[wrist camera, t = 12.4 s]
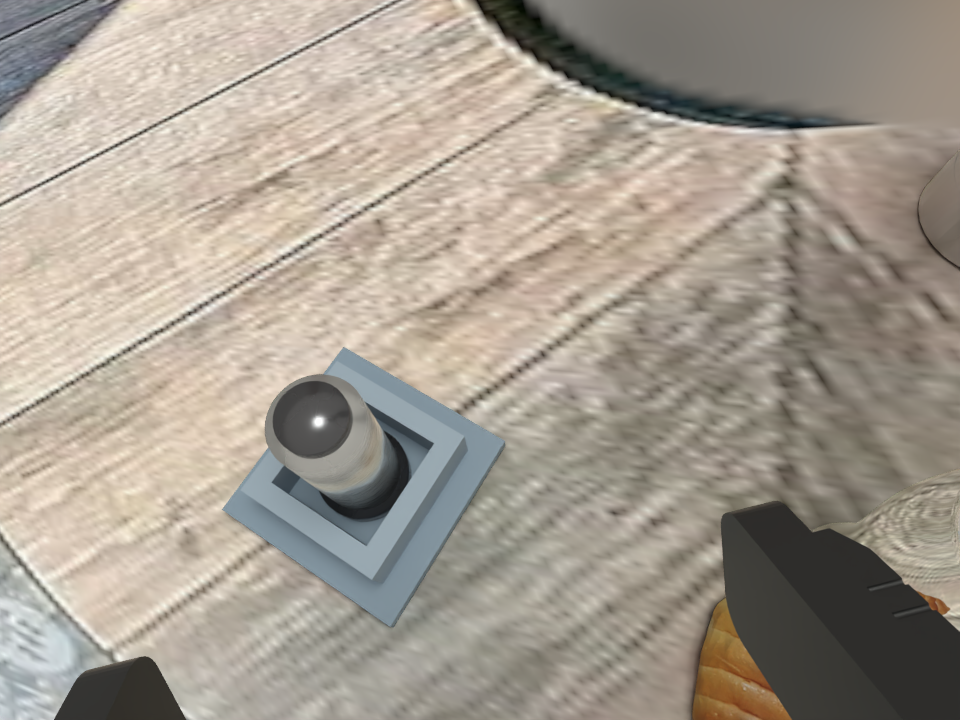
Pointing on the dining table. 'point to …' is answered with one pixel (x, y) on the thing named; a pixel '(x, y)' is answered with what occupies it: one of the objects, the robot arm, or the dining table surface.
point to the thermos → (337, 446)
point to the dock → (411, 521)
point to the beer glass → (918, 539)
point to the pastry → (731, 678)
